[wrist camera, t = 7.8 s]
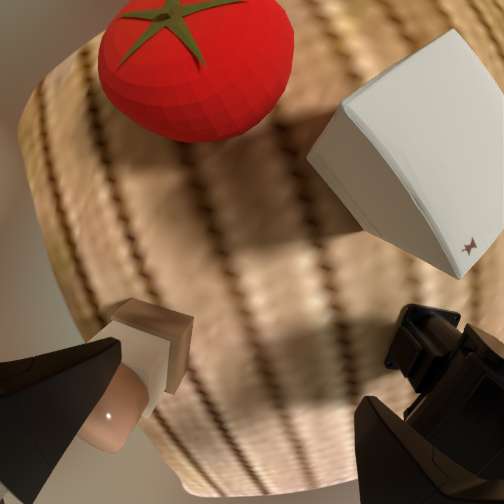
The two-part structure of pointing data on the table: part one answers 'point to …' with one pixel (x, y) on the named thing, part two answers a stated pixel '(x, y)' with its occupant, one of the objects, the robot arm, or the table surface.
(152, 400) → the cream block
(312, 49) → the table surface
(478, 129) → the supplement box
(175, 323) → the walnut base block
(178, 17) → the tomato
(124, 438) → the brown rounded lump
